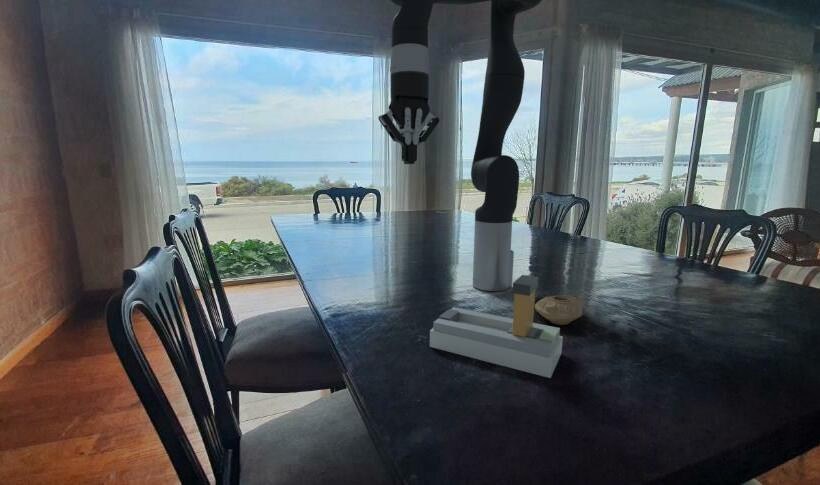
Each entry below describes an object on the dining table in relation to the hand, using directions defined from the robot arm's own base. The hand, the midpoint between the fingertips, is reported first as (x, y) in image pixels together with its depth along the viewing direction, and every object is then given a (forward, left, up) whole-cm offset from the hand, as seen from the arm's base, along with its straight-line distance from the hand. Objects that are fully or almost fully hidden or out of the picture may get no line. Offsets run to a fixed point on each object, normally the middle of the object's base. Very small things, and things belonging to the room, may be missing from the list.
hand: (409, 164), depth 80 cm
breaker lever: (-8, +28, -28) cm, 40 cm away
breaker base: (-5, +24, -31) cm, 40 cm away
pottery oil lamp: (-26, +19, -31) cm, 45 cm away
